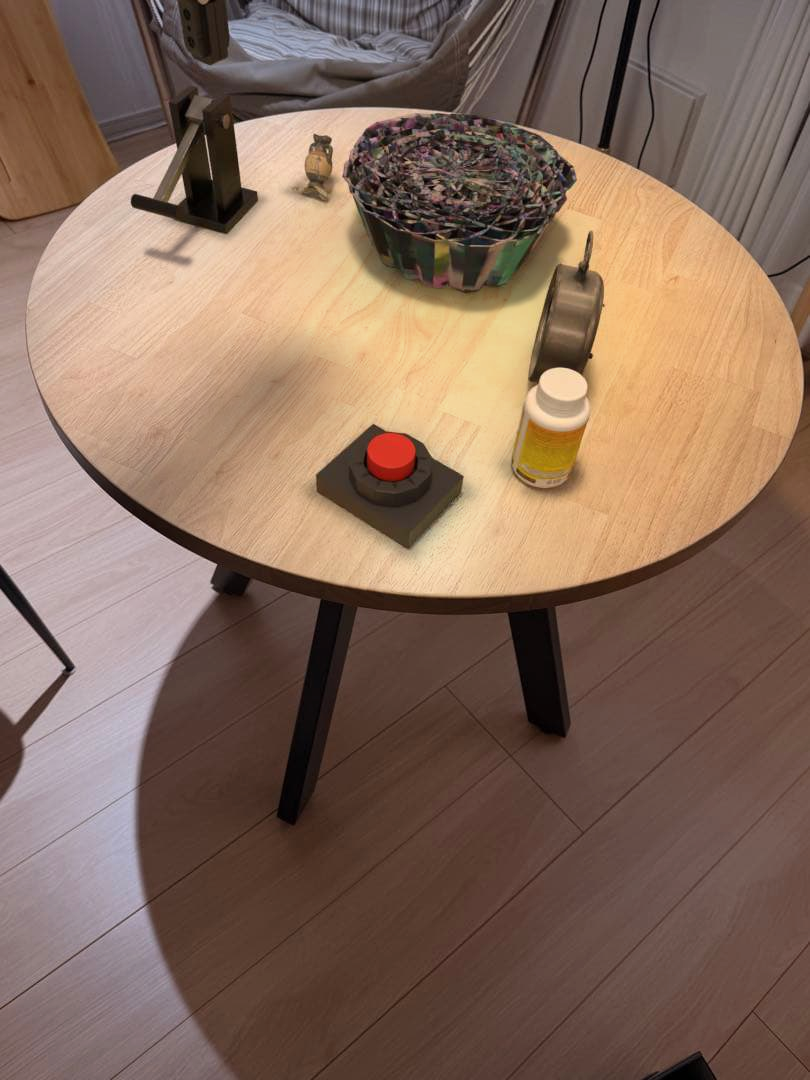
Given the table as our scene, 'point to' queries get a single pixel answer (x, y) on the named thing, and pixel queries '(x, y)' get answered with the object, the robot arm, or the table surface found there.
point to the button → (391, 457)
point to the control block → (390, 489)
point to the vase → (318, 165)
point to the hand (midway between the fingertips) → (210, 58)
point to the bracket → (223, 195)
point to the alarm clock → (568, 318)
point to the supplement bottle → (551, 428)
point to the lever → (176, 165)
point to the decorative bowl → (455, 196)
